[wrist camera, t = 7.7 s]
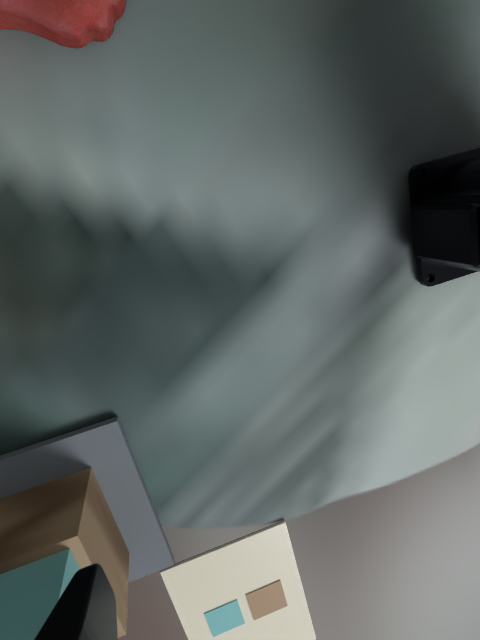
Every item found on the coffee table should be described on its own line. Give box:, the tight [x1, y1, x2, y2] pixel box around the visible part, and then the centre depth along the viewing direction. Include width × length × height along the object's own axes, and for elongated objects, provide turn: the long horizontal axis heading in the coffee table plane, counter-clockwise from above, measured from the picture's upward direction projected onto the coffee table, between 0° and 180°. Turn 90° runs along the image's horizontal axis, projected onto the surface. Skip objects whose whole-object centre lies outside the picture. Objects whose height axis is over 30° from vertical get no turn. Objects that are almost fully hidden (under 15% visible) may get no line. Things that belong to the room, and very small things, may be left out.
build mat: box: [0, 416, 174, 583], centre depth 21 cm, size 10×10×1 cm
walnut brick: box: [0, 467, 129, 638], centre depth 18 cm, size 6×6×4 cm
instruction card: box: [160, 520, 316, 640], centre depth 26 cm, size 8×11×1 cm
